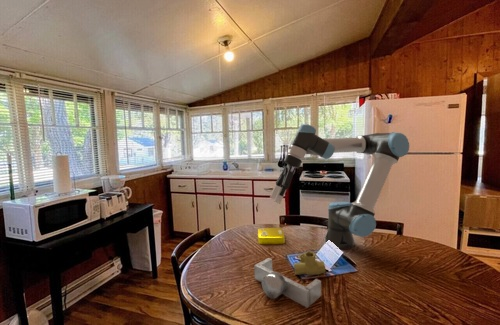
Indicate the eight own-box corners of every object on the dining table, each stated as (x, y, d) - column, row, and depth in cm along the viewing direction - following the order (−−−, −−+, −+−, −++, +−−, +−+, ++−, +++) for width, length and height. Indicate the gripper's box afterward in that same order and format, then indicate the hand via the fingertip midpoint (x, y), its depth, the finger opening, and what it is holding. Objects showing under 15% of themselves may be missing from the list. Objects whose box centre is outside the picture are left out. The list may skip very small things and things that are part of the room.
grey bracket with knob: (269, 270, 111) (268, 253, 110) (320, 296, 92) (320, 275, 91) (246, 283, 102) (245, 265, 101) (298, 315, 83) (298, 292, 82)
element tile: (285, 244, 139) (285, 236, 138) (258, 245, 139) (258, 236, 139) (282, 234, 154) (282, 226, 153) (258, 234, 154) (257, 227, 153)
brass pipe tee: (326, 278, 105) (320, 263, 115) (325, 257, 103) (319, 243, 112) (296, 280, 106) (292, 265, 115) (294, 259, 103) (291, 245, 113)
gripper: (282, 155, 123) (264, 194, 122) (293, 151, 98) (270, 200, 97) (295, 161, 123) (277, 200, 123) (310, 159, 98) (287, 208, 98)
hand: (274, 200), depth 110 cm, fingers open, 13 cm apart
